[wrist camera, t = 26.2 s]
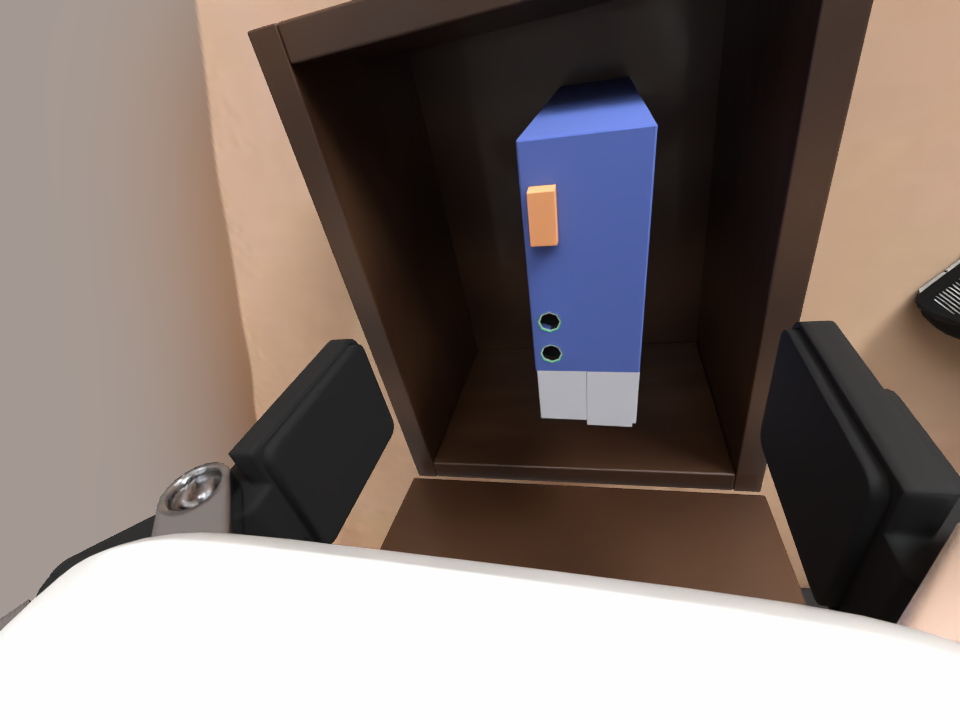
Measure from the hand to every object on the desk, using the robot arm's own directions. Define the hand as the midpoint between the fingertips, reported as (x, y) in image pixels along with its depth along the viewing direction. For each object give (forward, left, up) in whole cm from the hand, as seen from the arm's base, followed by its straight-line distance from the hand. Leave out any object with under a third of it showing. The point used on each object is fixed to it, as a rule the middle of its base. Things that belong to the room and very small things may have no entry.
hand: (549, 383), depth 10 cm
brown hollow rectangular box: (0, 0, -14) cm, 14 cm away
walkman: (-1, 0, -14) cm, 14 cm away
